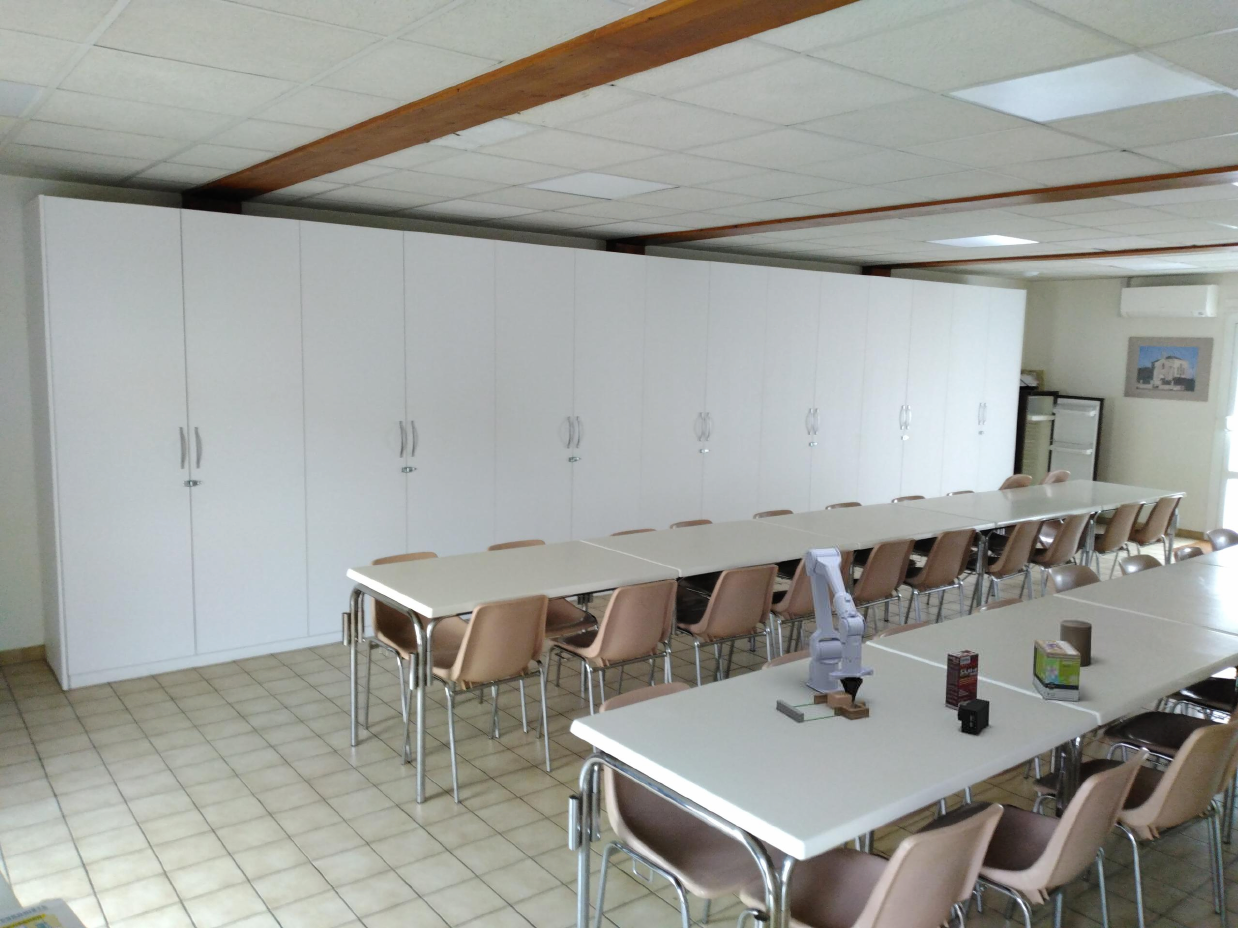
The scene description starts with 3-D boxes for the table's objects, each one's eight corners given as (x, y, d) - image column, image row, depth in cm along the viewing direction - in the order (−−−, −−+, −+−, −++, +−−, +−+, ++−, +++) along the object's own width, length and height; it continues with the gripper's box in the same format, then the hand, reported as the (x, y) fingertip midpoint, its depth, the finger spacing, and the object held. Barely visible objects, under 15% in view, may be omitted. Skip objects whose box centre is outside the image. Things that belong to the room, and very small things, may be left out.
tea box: (1079, 701, 270) (1081, 653, 269) (1043, 699, 272) (1045, 651, 271) (1065, 685, 285) (1067, 639, 284) (1031, 683, 287) (1033, 638, 286)
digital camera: (969, 720, 256) (969, 696, 256) (988, 724, 253) (989, 700, 252) (956, 731, 248) (957, 706, 247) (976, 736, 245) (977, 710, 244)
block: (827, 705, 268) (827, 692, 268) (841, 702, 270) (841, 689, 270) (837, 710, 264) (837, 697, 263) (851, 708, 265) (851, 695, 265)
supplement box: (958, 710, 263) (959, 657, 262) (944, 705, 268) (946, 653, 266) (977, 705, 268) (979, 653, 266) (964, 700, 272) (966, 649, 270)
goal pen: (776, 708, 266) (776, 700, 266) (811, 702, 270) (811, 694, 270) (799, 722, 255) (799, 713, 254) (835, 716, 259) (835, 707, 259)
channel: (813, 702, 270) (813, 694, 270) (841, 698, 274) (841, 690, 274) (845, 720, 256) (845, 712, 256) (874, 715, 260) (874, 707, 259)
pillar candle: (1096, 666, 304) (1097, 622, 303) (1066, 666, 304) (1068, 622, 303) (1081, 658, 314) (1083, 615, 312) (1053, 658, 314) (1055, 615, 313)
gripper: (839, 663, 261) (838, 708, 262) (880, 657, 266) (879, 702, 267) (824, 656, 267) (824, 701, 268) (865, 650, 273) (864, 694, 274)
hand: (850, 701), depth 268 cm, fingers closed
